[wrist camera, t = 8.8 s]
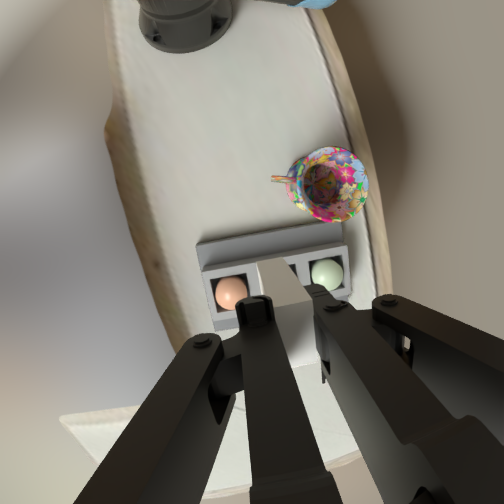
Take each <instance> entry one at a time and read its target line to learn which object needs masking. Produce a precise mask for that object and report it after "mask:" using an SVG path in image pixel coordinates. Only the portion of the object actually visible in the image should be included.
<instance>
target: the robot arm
mask: <svg viewBox="0 0 504 504" xmlns="http://www.w3.org/2000/svg"><path fill="white" fill-rule="evenodd" d="M137 1H138V2H139V4H140V13H139V26H140V30H141V32H142V34H143V36H144V37H145V39H146V41H147V42H148V43H149V44H150V45H151V46H153V47H154V48H156V49H158V50H161V51H164V52H168V53H189V52H194V51H197V50H200V49H203V48H205V47H207V46H209V45H211V44H213V43H214V42H215V41H217V40H218V39H219V38H220V37H221V36H222V35H223V34H224V33H225V32H226V30H227V29H228V27H229V25H230V22H231V18H232V5H231V1H230V0H137ZM256 1H265V2H273V3H280V4H287V6H290V7H305V8H312V9H322V8H326V7H329V6H331V5H332V4H333V3H335V2H336V1H337V0H256ZM256 265H257V271H258V277H259V283H260V289H261V294H262V295H256V296H250V297H246V298H243V299H241V300H239V301H238V302H237V303H236V304H235V309H236V314H237V319H238V323H239V332H238V333H237V334H236V335H235V336H233V337H231V338H229V339H226V340H223V341H222V340H221V338H220V336H219V335H217V334H214V333H205V334H204V333H201V334H199V335H195V336H194V337H192V338H190V339H188V340H187V341H186V342H185V343H184V345H183V346H182V348H181V349H180V350H179V352H178V353H177V355H176V356H175V358H174V359H173V360H172V362H171V363H170V365H169V366H168V368H167V369H166V370H165V372H164V373H163V375H162V376H161V378H160V379H159V380H158V382H157V384H156V385H155V386H154V388H153V389H152V390H151V392H150V393H149V395H148V397H147V398H146V399H145V401H144V402H143V403H142V405H141V406H140V408H139V409H138V411H137V412H136V413H135V415H134V416H133V418H132V419H131V421H130V422H129V424H128V425H127V426H126V428H125V429H124V431H123V432H122V434H121V435H120V436H119V438H118V439H117V441H116V442H115V444H114V445H113V447H112V448H111V449H110V451H109V452H108V454H107V455H106V457H105V458H104V460H103V461H102V462H101V464H100V465H99V467H98V468H97V470H96V471H95V473H94V474H93V476H92V477H91V478H90V480H89V481H88V483H87V484H86V486H85V487H84V488H83V490H82V492H81V493H80V494H79V496H78V497H77V499H76V500H75V501H74V503H73V504H199V503H200V501H201V498H202V496H203V493H204V490H205V487H206V485H207V482H208V479H209V476H210V473H211V471H212V468H213V465H214V462H215V459H216V456H217V453H218V451H219V448H220V445H221V442H222V439H223V436H224V433H225V430H226V427H227V424H228V421H229V418H230V415H231V412H232V409H233V406H234V403H235V400H236V394H235V393H237V392H240V391H242V390H244V395H245V407H246V418H247V429H248V440H249V451H250V462H251V472H252V486H251V487H250V492H249V493H250V504H343V502H342V500H341V496H340V494H339V491H338V488H337V485H336V482H335V480H334V478H333V475H332V474H331V472H330V471H329V472H327V470H326V469H325V466H324V463H323V460H322V457H321V454H320V451H319V448H318V445H317V442H316V439H315V436H314V433H313V430H312V427H311V424H310V421H309V418H308V415H307V412H306V410H305V407H304V404H303V401H302V398H301V395H300V392H299V389H298V386H297V383H296V380H295V377H294V374H293V371H292V368H294V367H299V366H304V365H308V364H312V363H317V362H318V353H319V355H320V357H321V370H322V383H325V379H327V381H328V383H329V385H330V387H331V390H332V392H333V394H334V396H335V398H336V400H337V402H338V404H339V406H340V409H341V411H342V413H343V415H344V417H345V419H346V421H347V423H348V426H349V428H350V430H351V432H352V434H353V436H354V438H355V441H356V443H357V445H358V447H359V449H360V451H361V454H362V456H363V458H364V460H365V462H366V464H367V467H368V469H369V471H370V473H371V475H372V477H373V479H374V482H375V484H376V486H377V488H378V490H379V493H380V495H381V497H382V499H383V502H384V504H504V340H502V339H500V338H498V337H495V336H493V335H491V334H488V333H486V332H484V331H482V330H479V329H477V328H474V327H472V326H470V325H468V324H465V323H463V322H461V321H458V320H456V319H454V318H451V317H449V316H447V315H444V314H442V313H440V312H437V311H435V310H432V309H430V308H428V307H425V306H423V305H421V304H418V303H416V302H414V301H411V300H409V299H406V298H404V297H402V296H398V295H392V294H387V295H386V294H385V295H382V296H379V297H377V298H375V299H374V300H373V301H372V309H368V310H356V309H355V308H354V307H353V306H352V305H351V304H350V303H349V302H347V301H344V300H336V299H335V298H334V297H333V295H332V294H330V292H329V291H328V290H327V289H326V288H325V286H323V285H320V284H317V283H316V284H311V285H306V286H303V285H302V284H301V283H300V281H299V280H298V278H297V277H296V275H295V274H294V273H293V271H292V270H291V268H290V267H289V266H288V264H287V263H286V261H285V260H284V258H283V257H279V258H273V259H268V260H263V261H257V262H256ZM405 336H406V337H408V338H409V339H410V348H409V349H407V348H405V347H404V339H405ZM317 351H318V352H317Z"/></svg>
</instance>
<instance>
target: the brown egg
mask: <svg viewBox="0 0 504 504" xmlns="http://www.w3.org/2000/svg"><path fill="white" fill-rule="evenodd" d="M246 297H247V289H246V283H245V281H244V279H243V278H242V277H241V276H240V275H238V274H237V275H231V276H225V277H220V279H219V280H218V282H217V287H216V300H217V302H218V304H219V305H220V306H221V307H223V308H225V309H228V310H235V304H236V303H237V302H238V301H239V300H241V299H243V298H246Z"/></svg>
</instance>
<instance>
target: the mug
mask: <svg viewBox="0 0 504 504" xmlns="http://www.w3.org/2000/svg"><path fill="white" fill-rule="evenodd" d="M271 181H272V182H279V183H286V189H287V193H288V196H289V198H290V199H291V201H292V202H293V203H294V204H295V205H296V206H297V207H299V208H300V209H302V210H305V211H308V212H309V213H310V214H311V215H313V216H314V217H316V218H318V219H320V220H322V221H326V222H334V223H335V222H342V221H345V220H348V219H350V218H351V217H353V216H354V215H355V214H357V213H358V212H359V210H360V209H361V208H362V206H363V205H364V203H365V201H366V198H367V195H368V189H369V182H368V176H367V173H366V170H365V168H364V166H363V164H362V163H361V161H360V160H359V159H358V158H357V157H356V156H355V155H354V154H353V153H351V152H350V151H348V150H346V149H344V148H341V147H336V146H327V147H322V148H319V149H317V150H315V151H313V152H312V153H311V154H309V155H308V156H307V157H304V158H302V159H300V160H298V161H297V162H295V163H294V164H293V165H292V167H291V168H290V170H289V172H288V174H287V176H271Z"/></svg>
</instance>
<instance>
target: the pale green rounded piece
mask: <svg viewBox="0 0 504 504" xmlns="http://www.w3.org/2000/svg"><path fill="white" fill-rule="evenodd" d="M309 272H310V278H311V280H312V281H313V282H314V283H315V284H316V283H317V284H320V285H323V286H325V288H326V289H327V290H328V291H331V290H334V289H336V288H337V287H338V286H339V285H340V284H341V282H342V279H343V270H342V268H341V266H340V265H339V264H337V263H336V262H335V261H334V260H332V259H331V258H329V257H327V258H322V259H316V260H313V261H312V262H311V263H310V265H309Z"/></svg>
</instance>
